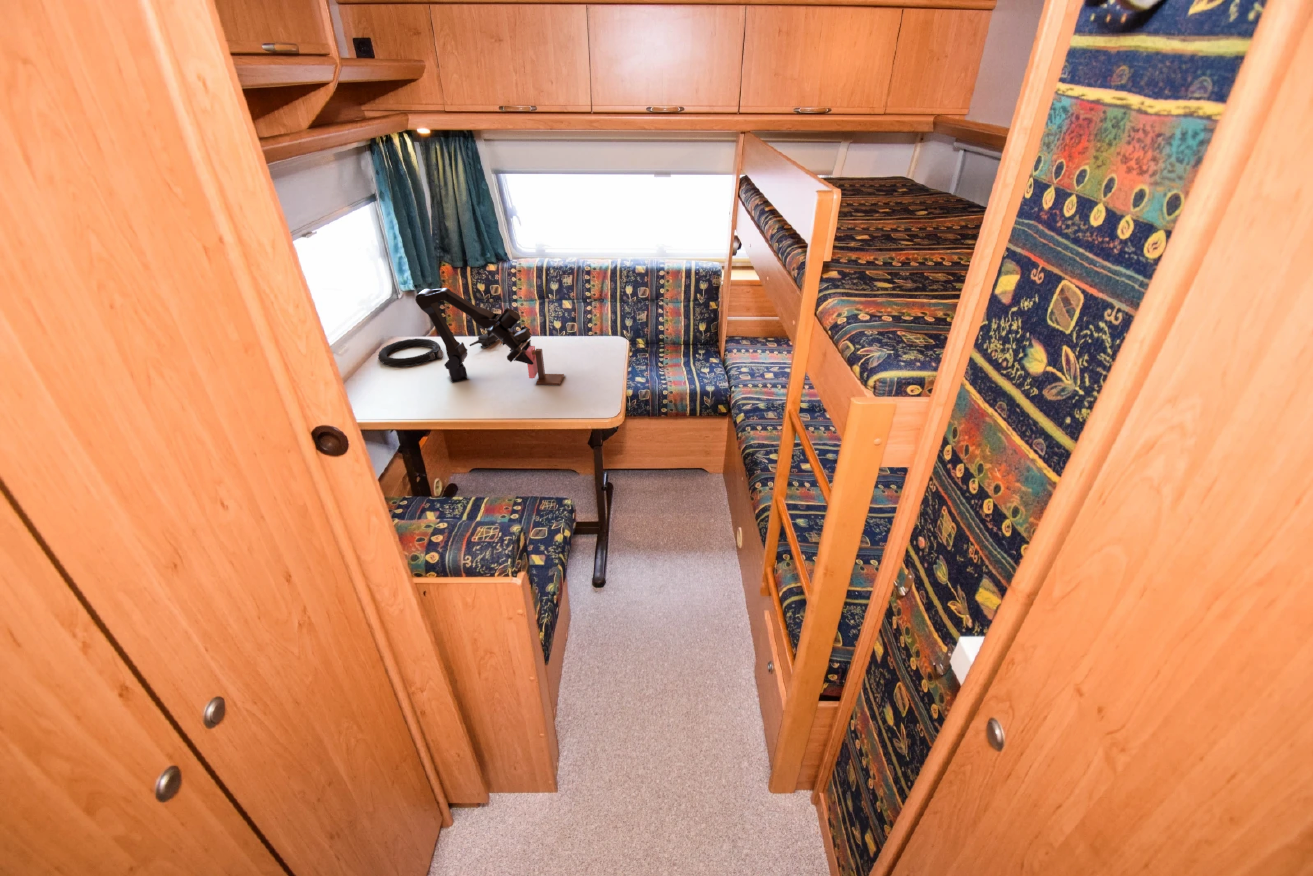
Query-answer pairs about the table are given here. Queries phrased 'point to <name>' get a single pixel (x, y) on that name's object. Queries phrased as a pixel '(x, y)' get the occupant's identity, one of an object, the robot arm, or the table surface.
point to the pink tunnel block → (532, 368)
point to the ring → (411, 360)
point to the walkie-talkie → (485, 340)
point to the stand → (542, 377)
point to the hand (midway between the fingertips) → (534, 360)
